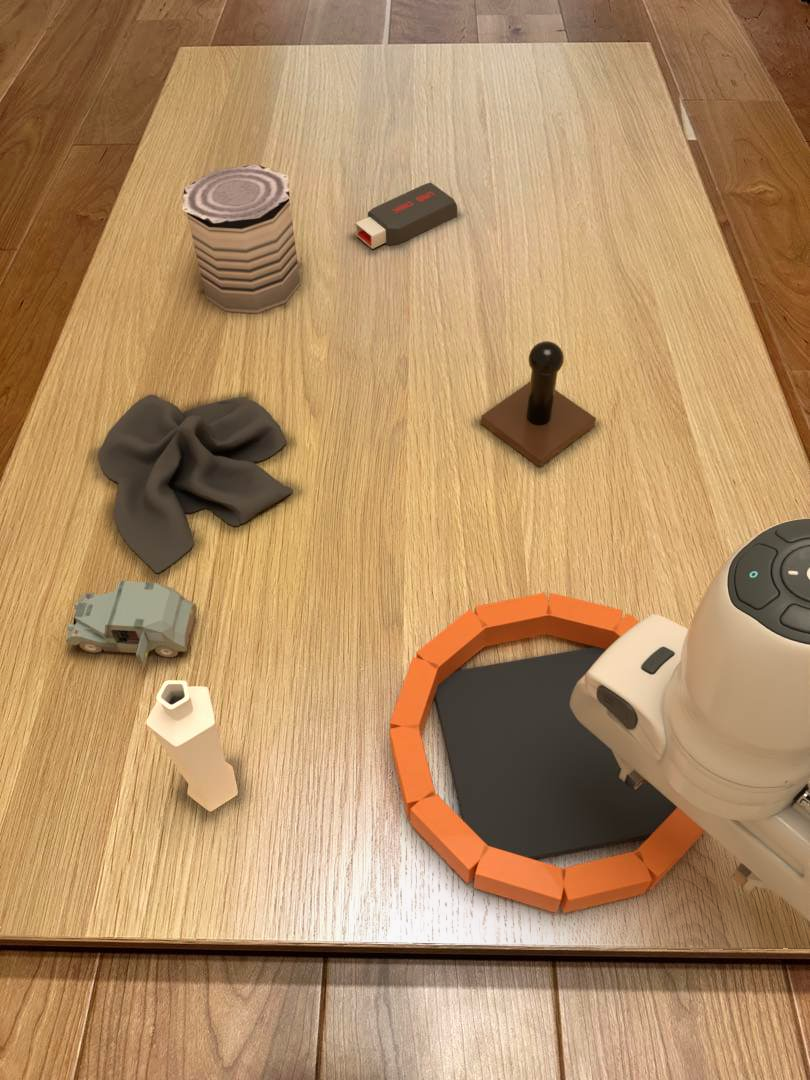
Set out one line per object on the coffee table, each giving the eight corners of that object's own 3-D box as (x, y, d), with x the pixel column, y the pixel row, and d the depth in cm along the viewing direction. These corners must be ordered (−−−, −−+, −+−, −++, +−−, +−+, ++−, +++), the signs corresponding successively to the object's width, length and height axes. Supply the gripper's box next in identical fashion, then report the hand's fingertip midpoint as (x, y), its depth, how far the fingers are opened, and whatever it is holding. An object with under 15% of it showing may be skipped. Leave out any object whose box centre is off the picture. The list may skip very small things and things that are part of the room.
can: (205, 321, 108) (183, 227, 98) (198, 258, 114) (177, 165, 105) (308, 306, 109) (296, 212, 99) (295, 244, 115) (283, 151, 106)
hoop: (331, 741, 76) (327, 723, 74) (541, 567, 86) (545, 547, 84) (563, 985, 65) (568, 974, 63) (775, 754, 75) (787, 737, 73)
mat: (618, 647, 82) (619, 642, 81) (685, 831, 72) (687, 827, 72) (430, 679, 80) (430, 674, 80) (473, 871, 71) (474, 867, 70)
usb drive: (457, 216, 118) (458, 195, 116) (377, 254, 114) (376, 234, 112) (430, 196, 121) (430, 176, 119) (351, 233, 117) (350, 213, 114)
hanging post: (480, 423, 98) (485, 344, 89) (535, 385, 101) (545, 304, 92) (539, 468, 94) (550, 389, 86) (594, 426, 97) (610, 346, 89)
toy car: (86, 609, 85) (70, 577, 81) (199, 616, 84) (188, 584, 81) (65, 675, 81) (47, 644, 77) (183, 682, 81) (171, 652, 77)
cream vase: (229, 823, 73) (190, 735, 61) (176, 805, 74) (128, 715, 62) (254, 768, 76) (222, 674, 64) (203, 751, 77) (162, 655, 65)
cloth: (101, 404, 100) (85, 359, 95) (283, 384, 101) (275, 339, 96) (90, 582, 87) (70, 540, 82) (299, 556, 88) (291, 513, 83)
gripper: (935, 828, 52) (850, 907, 63) (632, 596, 61) (605, 700, 72) (869, 912, 49) (793, 979, 60) (564, 656, 59) (546, 755, 70)
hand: (688, 825), depth 66 cm, fingers open, 8 cm apart
